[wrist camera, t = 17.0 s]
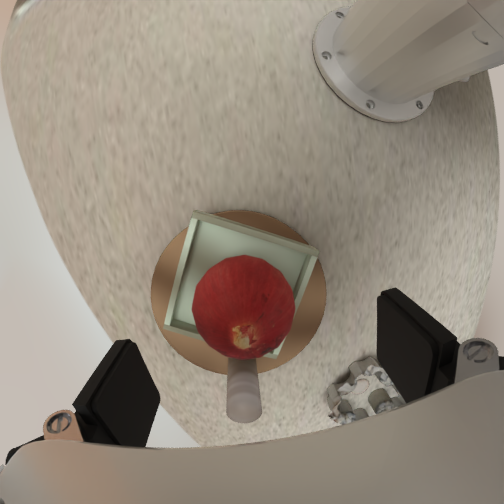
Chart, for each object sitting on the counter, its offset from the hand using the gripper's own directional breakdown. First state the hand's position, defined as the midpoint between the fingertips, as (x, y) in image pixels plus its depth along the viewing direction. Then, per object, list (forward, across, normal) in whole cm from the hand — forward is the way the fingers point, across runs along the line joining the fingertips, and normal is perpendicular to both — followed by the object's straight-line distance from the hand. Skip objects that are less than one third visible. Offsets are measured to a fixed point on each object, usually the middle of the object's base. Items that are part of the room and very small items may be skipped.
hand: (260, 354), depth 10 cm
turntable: (+12, +2, +2) cm, 13 cm away
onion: (+10, +1, +1) cm, 10 cm away
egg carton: (+14, -10, +18) cm, 25 cm away
